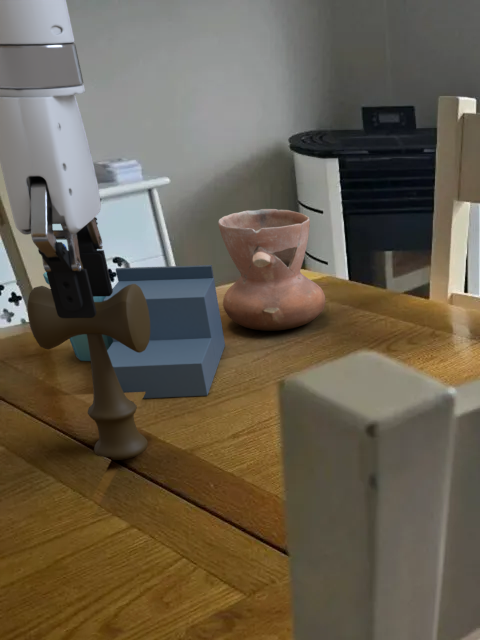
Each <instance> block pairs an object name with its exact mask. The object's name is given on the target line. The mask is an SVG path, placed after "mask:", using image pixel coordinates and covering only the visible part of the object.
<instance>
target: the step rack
mask: <svg viewBox="0 0 480 640" xmlns="http://www.w3.org/2000/svg"><path fill="white" fill-rule="evenodd" d="M115 273H116V278H117V283H116V284H115V285H114V286H113V287H112V289H113V293H112V294H111V295H110V296H106V297H105V299H104V300H103V301H106V300H108V299H109V298H111V297H112V296H114V295H115V294H116V293H118V292H119V291H120V290H121V289H123V288H124V287H126V286H128V285H131V284H136V285H138V286H139V287H140V288H141V290H142V292H143V294H144V296H145V299H146V302H147V306H148V310H149V317H150V339H149V343H148V345H147V347H146V349H145V350H144V351H143V352H140V353H138V352H136V351H134V350H132V349H130V348H128V347H127V346H125V345H123V344H122V343H120V342H119V341H117V340H115V339H114V338H112V339H113V343H112V344H111V346H110V347H109V349H108V350H107V352H108V355H109V357H110V360H111V363H112V366H113V368H114V371H115V374H116V376H117V379H118V381H119V383H120V386H121V388H122V390H123V392H124V394H127V393H144V395H143V397H142V400H143V399H163V398H164V399H165V398H166V399H167V398H183V397H184V398H188V397H208V396H209V395H208V394H209V393H210V389H211V387H212V384H213V380H214V378H215V375H216V373H217V369H218V367H219V364H220V361H221V358H222V355H223V354H224V353H223V352H224V349H225V347H226V342H225V336H224V335H225V334H224V329H223V324H222V318H221V311H220V306H219V300H218V295H217V287H216V282H215V278H214V270H213V265H212V264H200V265H197V264H196V265H171V266H170V265H169V266H167V265H165V266H140V267H139V266H138V267H116V268H115Z"/></svg>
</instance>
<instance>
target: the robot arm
mask: <svg viewBox="0 0 480 640" xmlns="http://www.w3.org/2000/svg"><path fill="white" fill-rule="evenodd" d="M75 42H76V41H75V37H74V31H73V26H72V22H71V18H70V12H69V8H68V3H67V0H0V167H1V171H2V172H1V173H2V177H3V180H4V185H5V190H6V193H7V199H8V202H9V206H10V210H11V214H12V219H13V222H14V225H15V228H16V229H17V231H18V232H19V233H21V234H22V235H25V236H26V235H30V236H31V240H32V242H33V244H34V246H36V248H37V251H38V253H39V255H40V256H41V260H42V265H43V269H44V271H45V272H46V273H47V277H48V281H49V284H50V285H49V284H48V285H49V289H51V292H52V296H53V300H54V303H55V307H56V311H57V314H58V316H59V317H60V318H93V317H94V316H95V315H96V308H95V303H94V299H93V297H98V296H110V295H111V294H112V293H113V285H112V281H111V276H110V272H109V268H108V262H107V259H106V255H105V250H104V249H103V240H102V239H103V238H102V236H101V233H100V230H99V227H98V224H99V223H98V218H97V215H99V213H100V212H101V208H102V202H101V195H100V189H99V184H98V178H97V174H96V170H95V166H94V165H95V164H94V161H93V156H92V153H91V152H92V151H91V148H90V143H89V141H88V136H87V132H86V128H85V125H84V121H83V116H82V113H81V110H80V107H79V103H78V100H77V96H76V95H81V94H84V93H86V87H85V83H84V78H83V74H82V73H83V72H82V69H81V63H80V59H79V55H78V50H77V46H76V43H75ZM53 225H60V226H61V228H62V229H57V230H56V229H53V228H54V227H53ZM60 240H62V241H63V240H65V241H66V242H67V246H66V245H65V246H66V247H65V246H64V245H63V244H64V243H63V242H62V241H60ZM66 248H67V249H66ZM67 250H68V251H67ZM80 259H81V260H80ZM81 262H82V265H83V269H81Z"/></svg>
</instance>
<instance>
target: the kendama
mask: <svg viewBox="0 0 480 640" xmlns="http://www.w3.org/2000/svg"><path fill="white" fill-rule="evenodd" d="M80 260H81V259H80ZM81 269H83V265H82V262H81ZM94 303H95V308H96V315H95V316H94V317H93V318H60V317H59V316H58V314H57V311H56V307H55V303H54V300H53V296H52V292H51V288H50V287H47V286H44V285H39V286H35V287H33V288H32V290H31V291H30V292H29V295H28V299H27V303H26V305H27V306H26V307H27V318H28V324H29V328H30V331H31V333H32V335H33V338H34V339H35V341H36V342H37V344H38V345H39V347H41V348H43V349H44V350H51V349H55V348H56V347H58V346H60V345H62V344H63V343H65V342H67V341H68V340H70V338H71V337H74V336H77V335H82V334H87V339H88V345H89V352H90V360H91V361H90V367H91V377H92V390H93V395H92V396H93V399H92V404H91V405H90V406H89V407H88V409H87V414H88V416H89V417H90V418H91V419H92V420H93V421H94V422H95V424H96V428H97V431H98V440H97V441H96V443H95V444H94V448H93V451H94V454H95V455H97V456H100V457H102V458H111V461H120V460H121V461H123V460H127V459H133V458H136V457H138V456H140V455H142V454H143V453H144V452H145V451H146V450H147V448H148V444H149V442H148V440H147V438H146V437H145V436H144V435H143V434H142V433H141V432H139V430H138V428H137V425H136V422H135V413H136V412H137V408H138V406H137V404H136V403H135V402H134V401H132V400H130V399H129V398H128V397H127V396H126V393H124V392H123V390H122V388H121V386H120V383H119V381H118V379H117V376H116V374H115V371H114V368H113V366H112V363H111V360H110V357H109V355H108V352H107V349H106V346H105V343H104V340H103V337H102V335H107V336H110V337H112V338H114V339H115V340H117V341H119V342H120V343H122V344H123V345H125V346H127V347H128V348H130V349H132V350H134V351H136V352H138V353H140V352H143V351H144V350H145V349H146V347H147V345H148V343H149V339H150V317H149V310H148V306H147V302H146V299H145V296H144V294H143V292H142V290H141V288H140V287H139V286H138V285H136V284H131V285H128V286H126V287H124V288H123V289H121V290H120V291H119V292H118V293H116V294H115V295H114V296H112V297H111V298H109V299H108V300H106V301H103V302H94Z"/></svg>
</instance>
